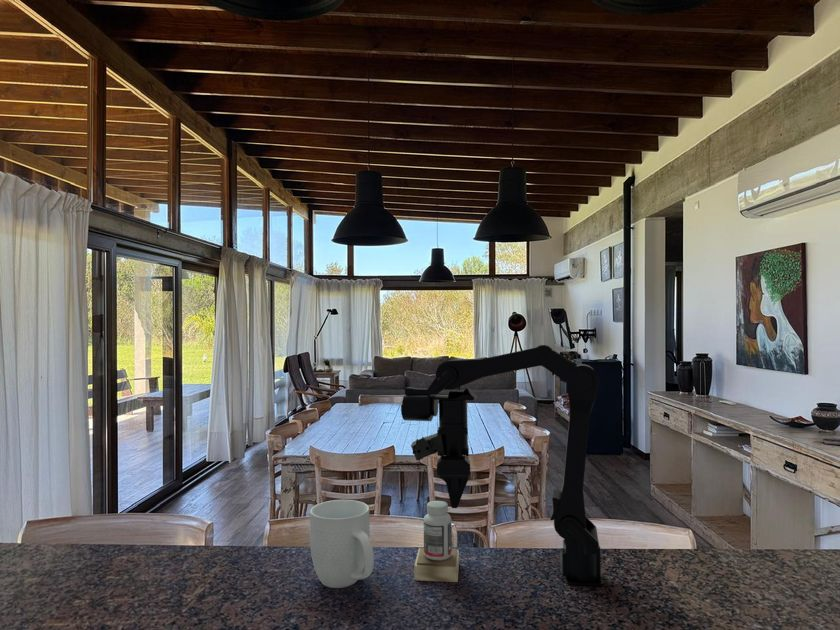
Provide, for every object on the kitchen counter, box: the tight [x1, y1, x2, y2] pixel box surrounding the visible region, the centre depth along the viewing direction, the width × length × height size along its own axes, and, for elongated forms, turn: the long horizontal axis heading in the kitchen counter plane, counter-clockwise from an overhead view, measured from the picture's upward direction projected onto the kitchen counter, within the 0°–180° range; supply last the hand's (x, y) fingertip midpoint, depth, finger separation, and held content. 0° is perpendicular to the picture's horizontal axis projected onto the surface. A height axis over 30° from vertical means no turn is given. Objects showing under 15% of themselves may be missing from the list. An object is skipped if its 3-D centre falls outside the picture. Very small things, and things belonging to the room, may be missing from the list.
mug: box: [309, 499, 375, 589], centre depth 94 cm, size 15×11×13 cm
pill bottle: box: [423, 500, 453, 561], centre depth 98 cm, size 5×5×10 cm
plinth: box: [413, 546, 460, 583], centre depth 98 cm, size 8×8×3 cm
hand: (454, 500), depth 103 cm, fingers open, 9 cm apart
